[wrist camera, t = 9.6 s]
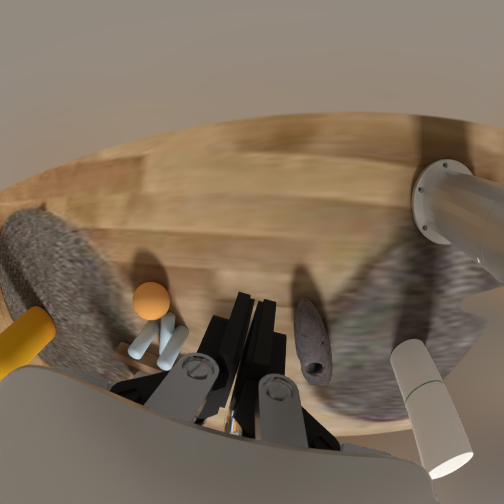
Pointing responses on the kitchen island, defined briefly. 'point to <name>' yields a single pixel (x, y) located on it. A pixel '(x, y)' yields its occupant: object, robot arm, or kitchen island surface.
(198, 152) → the kitchen island surface
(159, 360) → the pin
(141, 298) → the ball
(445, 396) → the cylindrical container
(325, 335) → the perforated stone tool
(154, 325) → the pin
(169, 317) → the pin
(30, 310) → the beer bottle
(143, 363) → the rail
